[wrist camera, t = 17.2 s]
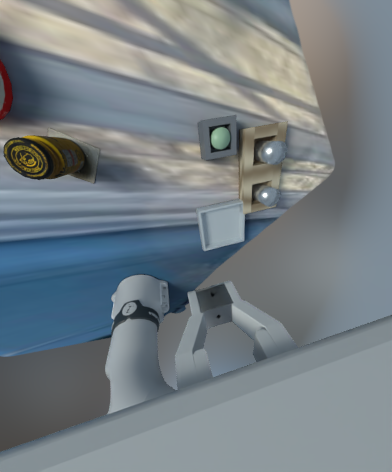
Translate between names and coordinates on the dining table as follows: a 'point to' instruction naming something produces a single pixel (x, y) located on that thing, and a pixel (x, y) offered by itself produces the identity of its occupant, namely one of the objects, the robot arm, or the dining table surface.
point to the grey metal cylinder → (270, 151)
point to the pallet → (257, 163)
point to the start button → (219, 138)
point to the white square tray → (221, 224)
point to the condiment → (52, 156)
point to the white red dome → (5, 92)
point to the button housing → (204, 137)
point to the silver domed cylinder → (265, 194)
